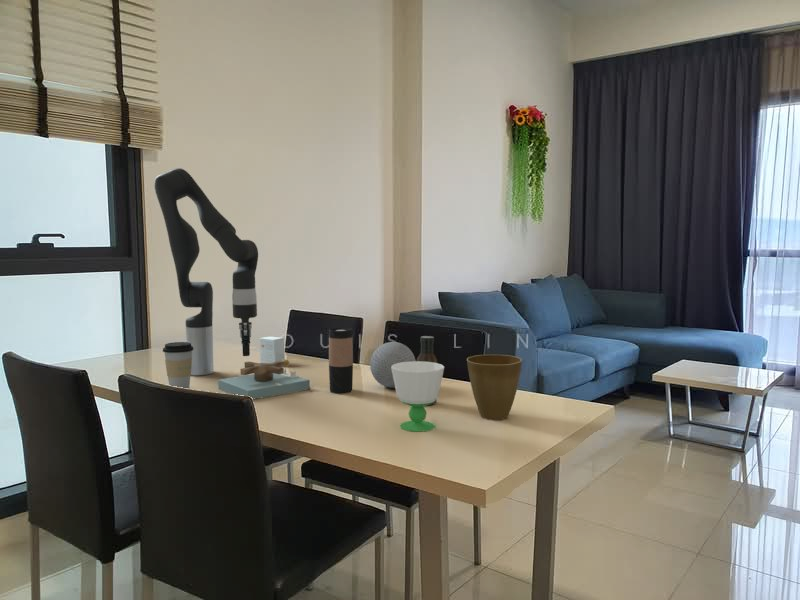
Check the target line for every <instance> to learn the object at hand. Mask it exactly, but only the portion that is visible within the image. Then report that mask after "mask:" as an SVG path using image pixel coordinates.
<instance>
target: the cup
mask: <svg viewBox="0 0 800 600" xmlns="http://www.w3.org/2000/svg"><path fill="white" fill-rule="evenodd" d="M391 369H392V374H393V379H394V384H395V388H394V389H395V394H396V397H397V398H398V400H399V401H400V402H401V403H402V404H405V405H407V406H409V407H410V408H409V411H408V417H409V419H410V420H409V421H405V422H402V423H400V425H399V427H400V428H401V429H402V430H404V431H408V432H414V433H415V432H416V433H417V432H419V433H421V432H422V431H423V432H428V431H432V430H434V429H435V428H436V425H435V424H434V423H433V422H431V421H426V420H425V419H426V416H427V410H426V409H425V407H426V406H430V405H429V404H431V403H433V402H434V401H436V399H437V400H438V397H439V394H440V391H441V385H442V380H443V376H444V372H445V371H444V370H445V366H444V365H443V364H441V363H439V362H438V363H433V362H422V361H417V360H415V361H412V362H401V363H397V364H393V365H392V367H391ZM433 428H434V429H433Z"/></svg>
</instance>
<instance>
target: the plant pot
mask: <svg viewBox="0 0 800 600" xmlns="http://www.w3.org/2000/svg"><path fill="white" fill-rule="evenodd" d="M466 363H467V370H468V376H469V382H470V387H471V391H472V394H473V397H474V400H475V405H476V407H477V410H478V412H479V415H480V417H481V418H482V419H485V418H486V419H485V420H490V419H491V420H493V421H498V420H499V419H501V420H505V419H507V418H508V417H509V415H510V412H511V409H512V406H513V405H514V401H515V397H516V394H517V389H518V385H519V383H520V376H521V372H522V371H521V370H522V364H523V359H522V358H521V357H519V356H515V355H509V354H478V355H477V354H476V355H473V356H468V357H467V358H466ZM499 421H500V420H499Z"/></svg>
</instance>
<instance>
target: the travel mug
mask: <svg viewBox="0 0 800 600" xmlns="http://www.w3.org/2000/svg"><path fill="white" fill-rule="evenodd" d="M353 340H354V339H353V329H352V328H347V329H344V328H341V327H333V328H329V329H328V372H329V373H328V375H329V392H330V393H332V394H335V395H336V394H341V395H343V394H349V393H352V391H353V379H354V377H353V376H354V374H353V373H354V372H353V371H354V353H353V352H354V349H353V348H354V347H353V343H354V342H353Z"/></svg>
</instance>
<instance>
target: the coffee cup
mask: <svg viewBox="0 0 800 600" xmlns="http://www.w3.org/2000/svg"><path fill="white" fill-rule="evenodd" d="M192 350H194V349H193V346H191V343H189V342H186V341H173V342H168V343H165V344H164V347H162V353H164V362H165V370H166V376H167V382H168V386H169V385H171V386H177V387H183V388H189V389H190V383H191V376H192V375H191V367H192Z"/></svg>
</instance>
